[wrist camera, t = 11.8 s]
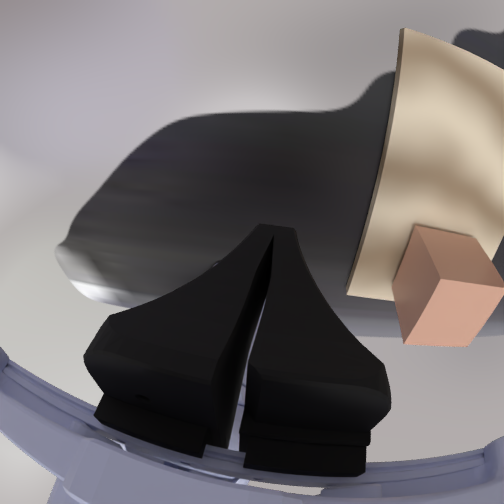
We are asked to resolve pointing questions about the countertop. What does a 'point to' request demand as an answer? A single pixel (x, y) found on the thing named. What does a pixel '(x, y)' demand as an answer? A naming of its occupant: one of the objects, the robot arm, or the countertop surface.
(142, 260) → the countertop surface
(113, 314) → the robot arm
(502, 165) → the maple board
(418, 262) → the salmon orange cube
